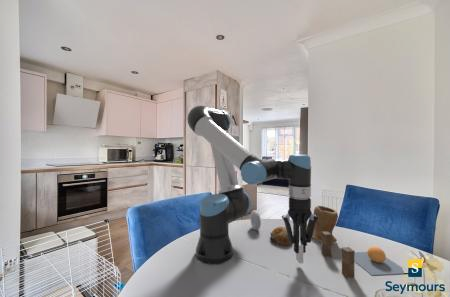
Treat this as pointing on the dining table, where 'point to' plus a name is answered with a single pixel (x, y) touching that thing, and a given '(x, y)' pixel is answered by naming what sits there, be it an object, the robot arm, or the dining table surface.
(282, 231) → the bread roll
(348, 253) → the gate post right
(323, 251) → the gate post left
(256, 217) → the donut
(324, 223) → the brown boot
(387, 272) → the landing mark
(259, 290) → the dining table surface
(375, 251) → the ball
